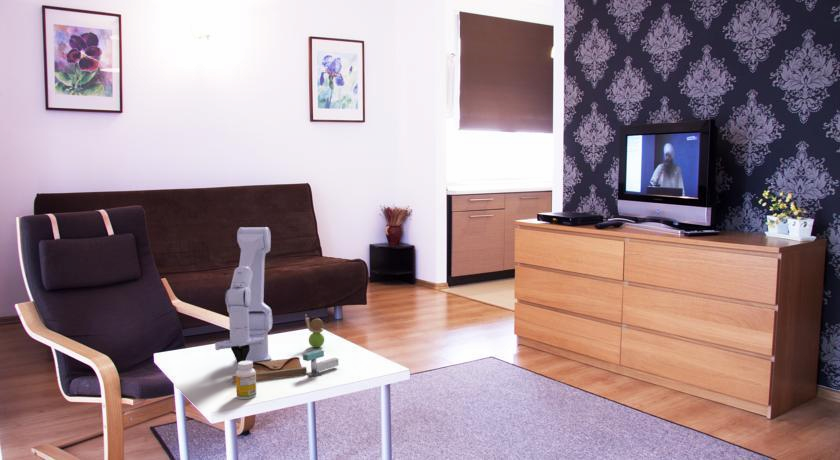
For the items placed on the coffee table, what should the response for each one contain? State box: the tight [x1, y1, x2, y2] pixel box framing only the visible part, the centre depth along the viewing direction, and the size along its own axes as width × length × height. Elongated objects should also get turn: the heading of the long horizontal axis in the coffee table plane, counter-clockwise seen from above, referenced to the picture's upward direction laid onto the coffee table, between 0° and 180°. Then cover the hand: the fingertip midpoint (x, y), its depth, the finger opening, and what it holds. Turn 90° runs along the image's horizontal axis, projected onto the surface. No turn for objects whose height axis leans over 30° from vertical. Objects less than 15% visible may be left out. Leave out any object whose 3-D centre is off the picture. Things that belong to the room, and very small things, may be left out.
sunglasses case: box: [252, 356, 302, 373], centre depth 207 cm, size 18×7×7 cm, turn 115°
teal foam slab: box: [302, 349, 339, 373], centre depth 207 cm, size 12×2×6 cm, turn 139°
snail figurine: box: [304, 314, 325, 349], centre depth 235 cm, size 5×6×12 cm
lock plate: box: [306, 371, 322, 378], centre depth 205 cm, size 4×4×1 cm
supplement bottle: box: [235, 360, 257, 400], centre depth 186 cm, size 5×5×10 cm
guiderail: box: [232, 366, 308, 385], centre depth 202 cm, size 1×22×2 cm, turn 113°
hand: (241, 369), depth 205 cm, fingers closed
